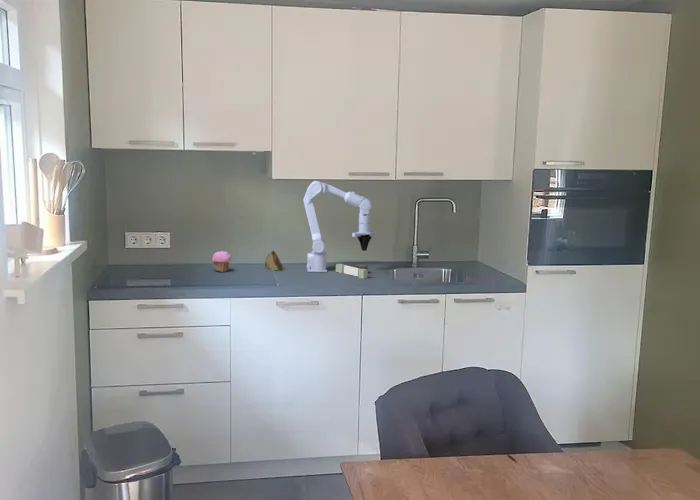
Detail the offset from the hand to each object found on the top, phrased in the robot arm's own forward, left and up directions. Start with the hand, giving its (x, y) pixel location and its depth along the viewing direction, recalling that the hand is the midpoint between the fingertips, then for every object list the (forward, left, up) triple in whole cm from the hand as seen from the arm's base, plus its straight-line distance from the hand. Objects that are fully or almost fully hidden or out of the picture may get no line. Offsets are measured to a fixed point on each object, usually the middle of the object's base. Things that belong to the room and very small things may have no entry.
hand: (364, 250), depth 323 cm
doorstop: (-2, -4, -11) cm, 12 cm away
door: (-7, -9, -10) cm, 16 cm away
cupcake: (-69, -1, -11) cm, 70 cm away
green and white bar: (-7, -9, -11) cm, 16 cm away
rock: (-44, +6, -11) cm, 46 cm away
